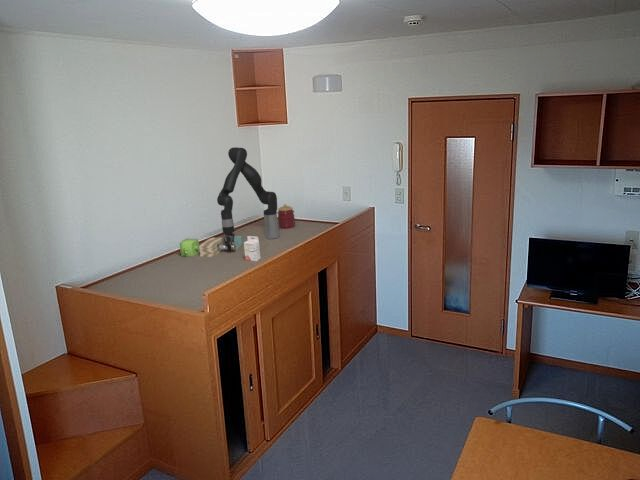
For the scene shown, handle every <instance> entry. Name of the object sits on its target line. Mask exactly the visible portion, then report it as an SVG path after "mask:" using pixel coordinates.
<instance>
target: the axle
mask: <svg viewBox="0 0 640 480" xmlns="http://www.w3.org/2000/svg"><path fill="white" fill-rule="evenodd" d="M217 248H218V249H223V250H227V251H228V246H226V245H225V244H224V245H217ZM231 250H232V251H236V250H237V249H236V245H235V244H233V245H231Z"/></svg>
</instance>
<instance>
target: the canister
mask: <svg viewBox="0 0 640 480" xmlns="http://www.w3.org/2000/svg"><path fill="white" fill-rule="evenodd" d="M294 213H295V211H294V209H293V207H291V206H289V205H288V206H287V204H283V205H282V206H281V207H279V208H277V222H278V224H279V229H292V228H295V226H296V222H295V221H296V220H295V214H294Z"/></svg>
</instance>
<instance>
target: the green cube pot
mask: <svg viewBox="0 0 640 480" xmlns="http://www.w3.org/2000/svg"><path fill="white" fill-rule="evenodd" d="M200 245H201V244H200V242H199V239H197V238H185V239H184V240H182V241H181V242H179V250H180V256H181V257H194V256H195V255H197V254H198V253H200V249H199V246H200Z"/></svg>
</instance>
